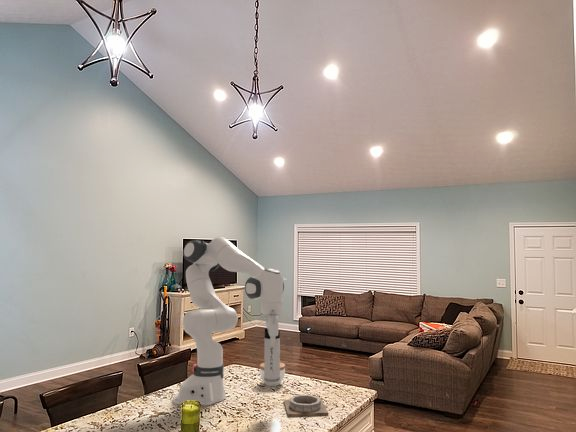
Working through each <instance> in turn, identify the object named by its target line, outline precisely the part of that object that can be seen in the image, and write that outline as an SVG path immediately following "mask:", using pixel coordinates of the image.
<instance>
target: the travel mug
mask: <svg viewBox="0 0 576 432" xmlns="http://www.w3.org/2000/svg"><path fill="white" fill-rule="evenodd" d="M280 335H281V331H280V330H279V329H278V336H276V338H275V346H271V345H270V336H269V334H268V330H267V328H266V327H265V328H264V338H263V339H264V347H263V348H264V349H263V351H264V353H263V354H264V356H263V357H264V359H263V360H264V361H263V363H264V380H265V381H267V382H277V381H279V380H280V362H281V336H280Z"/></svg>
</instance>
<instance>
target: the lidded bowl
mask: <svg viewBox="0 0 576 432" xmlns="http://www.w3.org/2000/svg"><path fill="white" fill-rule="evenodd" d="M259 374H260V375H259V376H260V379H261V381H262V382H263V383H264V385H265V386H268V387H277V386H280V384H281V383H282V382H283V380H284V378H285V374H286V364H285V363H284V362H281V361H280V380H279V381H277V382H267V381H265V380H264V362H262V363H260V364H259Z"/></svg>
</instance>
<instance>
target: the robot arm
mask: <svg viewBox="0 0 576 432" xmlns="http://www.w3.org/2000/svg"><path fill="white" fill-rule="evenodd" d="M182 256H183V258H184V259H185V260H186V261H188V262H190V263H192V264H191V265H189V266H188V267H187V268H186V270H185V280H186V281H185V282H186V284H187V285H186V286H187V289H188V293H189V296H190V299H191V303H192V304H193V305H194V306H196V307H197V308H196V309H193V310H190V311H187V312H186V313H185V314H184V315H183V317H182V321H181V322H182V328H183V330H184V332H185V333H186V334H187V335H189V336H190V337H191V338H192V339H193V341H194V343H195V346H196V352H197V353H196V354H197V358H196V359H197V361H196V362H197V364H196V363H194V364H193V365H192V374H191V375H189V377H187V378H186V379H185V380H183V381H182V382H181V384H180V386H179V389H178V392H177V393H176V394H175V395H174V396H173V399H172V401H173V404H174V405H182V404H181V403H182V402H183V401H187V400H196V401H199V402H200V404H201V405H200V406H211V405H213V404H214V403H219V402H221V401H224V400H225V399H226V398H227V395H226V391H225V386H224V376H225V367H224V361H223V358H224V357H223V356H224V348H223V346H222V344H221V343H220V342H218V341H216V340H214V339H213V334H215V333H222V332H227V331H231V330H233V329H235V328H236V326H237V325H238V321H239V317H238V313H237V311H236V310H235V309H234V308H232V307H230V306H229V305H227V304H225V303H224V302H223V301H222V300H221V299H220V297H218V295H217V294H216V291H215V289H214V286H213V283H212V281H211V278H210V276H209V275H210V273H214V272H215V271H216V270H217V269H219V268H220V267H221V268H223V270H226V271H228V272H231V273H233V272H234V273H242V274H247V275H250V277H249V278H247V280H246V282H244V283H245V285H244V292H245V295H246V296H247V298H249V299H250V300H251V299H252V300H261V301H260V302H261V303H260V304H261V305H260V306H261V307H260V308H261V309H260V311H261V312H260V313H261V314H263V316H264V319H265V329H266V328H267V330H268V334H269V336H270V345H271V346H275V338H276V336H278V330H279V318H281V316H280V315H282V314H283V312H284V299H283V292H284V291H285V283H284V281H283V274H282V272H281V271H280V270H278V269H276V268H265V267H264V266H263V265H261V264H260V263H259V262H257V261H256V260H255V259H253V258H251V257H250V256H248V254H245V253H244V252H243V251H241V250H240V249H239V248H238V247H236V245H235V243H232V242H231V241H230V240H228V239H227V238H225V237H223V236H217V237H215V238H213V239H212V240H211V241H210V242H209V243H208V242H205V241H204V240H197V239H196V240H190V241H188V242H187V243H185V244H184V248H183V251H182Z"/></svg>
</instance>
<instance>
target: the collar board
mask: <svg viewBox="0 0 576 432" xmlns="http://www.w3.org/2000/svg"><path fill="white" fill-rule="evenodd" d="M283 405H284V407H285V410H286V415H287V417H289V418H291V417H292V418H293V417H311V416H312V417H316V416H317V417H318V416H329V411H328V410H327V407H326V406H325V403H324V402H323V400H322V399H321V398H320V397H318V396H315V395H312V394H297V395H294V396H292V397H290V398H289V399H284V400H283Z"/></svg>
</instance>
